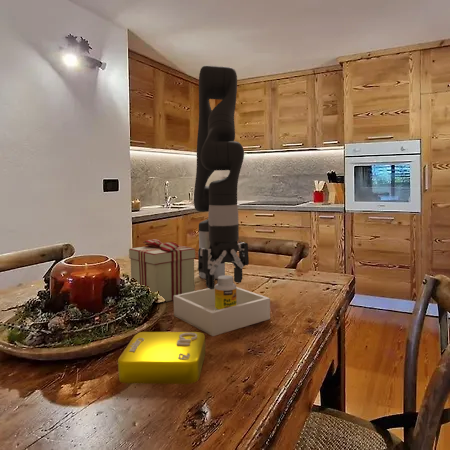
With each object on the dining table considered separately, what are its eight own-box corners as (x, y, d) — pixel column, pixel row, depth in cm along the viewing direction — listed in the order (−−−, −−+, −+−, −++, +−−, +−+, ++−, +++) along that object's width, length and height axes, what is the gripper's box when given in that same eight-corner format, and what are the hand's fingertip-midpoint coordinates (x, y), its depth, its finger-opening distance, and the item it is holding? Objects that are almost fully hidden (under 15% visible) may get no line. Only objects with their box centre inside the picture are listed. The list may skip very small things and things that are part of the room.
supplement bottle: (222, 321, 101) (222, 280, 100) (211, 315, 106) (210, 276, 105) (241, 316, 104) (240, 277, 103) (229, 310, 109) (228, 273, 108)
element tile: (137, 350, 89) (136, 328, 88) (206, 350, 88) (205, 329, 87) (115, 385, 74) (114, 360, 73) (198, 386, 73) (197, 360, 72)
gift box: (205, 292, 130) (203, 238, 128) (159, 306, 117) (157, 247, 115) (170, 283, 142) (168, 234, 140) (125, 295, 128) (122, 241, 126)
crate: (174, 315, 109) (173, 295, 108) (227, 302, 119) (227, 283, 119) (212, 336, 94) (212, 313, 94) (270, 318, 105) (269, 298, 104)
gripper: (236, 218, 109) (237, 277, 111) (191, 223, 101) (193, 287, 103) (254, 221, 103) (255, 283, 105) (208, 226, 95) (209, 294, 97)
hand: (224, 285), depth 104 cm, fingers open, 8 cm apart
